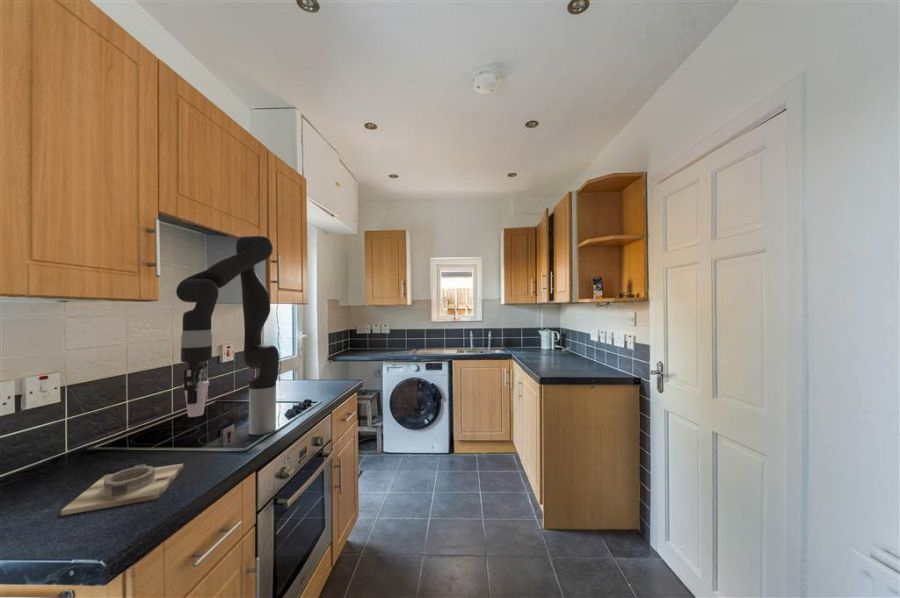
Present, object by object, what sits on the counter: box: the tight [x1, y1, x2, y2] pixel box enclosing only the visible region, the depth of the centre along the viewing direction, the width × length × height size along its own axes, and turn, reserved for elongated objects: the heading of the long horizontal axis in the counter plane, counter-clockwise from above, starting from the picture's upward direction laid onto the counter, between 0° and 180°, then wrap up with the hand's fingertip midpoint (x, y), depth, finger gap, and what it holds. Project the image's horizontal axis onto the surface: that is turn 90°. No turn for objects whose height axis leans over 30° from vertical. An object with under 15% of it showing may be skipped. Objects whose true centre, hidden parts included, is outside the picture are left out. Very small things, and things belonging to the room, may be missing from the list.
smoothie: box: [182, 380, 210, 418], centre depth 103 cm, size 6×6×14 cm
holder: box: [60, 463, 184, 516], centre depth 91 cm, size 18×18×4 cm
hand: (195, 400), depth 103 cm, fingers closed on smoothie, 6 cm apart
